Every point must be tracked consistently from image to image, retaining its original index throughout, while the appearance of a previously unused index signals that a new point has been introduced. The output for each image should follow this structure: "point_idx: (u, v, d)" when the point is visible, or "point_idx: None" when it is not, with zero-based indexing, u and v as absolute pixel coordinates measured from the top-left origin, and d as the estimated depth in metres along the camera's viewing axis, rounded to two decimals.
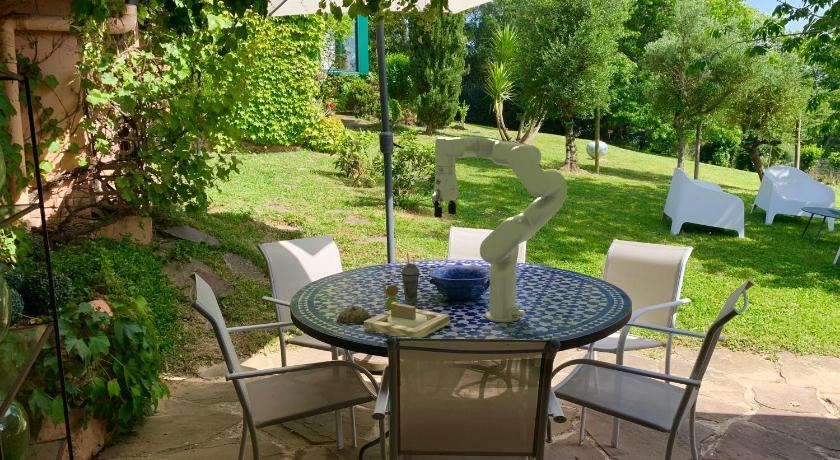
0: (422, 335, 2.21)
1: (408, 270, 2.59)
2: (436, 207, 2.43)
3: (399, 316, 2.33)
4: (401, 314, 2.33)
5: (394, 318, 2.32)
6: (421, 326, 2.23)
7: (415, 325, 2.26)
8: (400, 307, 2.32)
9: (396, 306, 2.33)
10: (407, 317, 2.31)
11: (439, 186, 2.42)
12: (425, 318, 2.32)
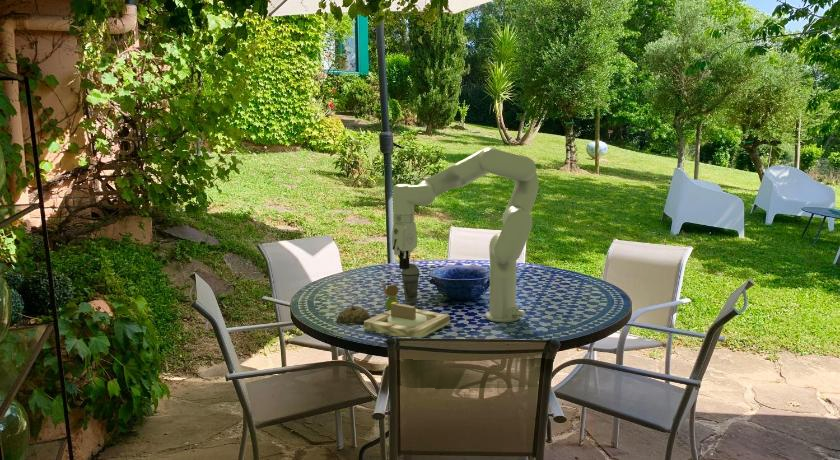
0: (422, 335, 2.21)
1: (408, 270, 2.59)
2: None
3: (399, 316, 2.33)
4: (401, 314, 2.33)
5: (394, 318, 2.32)
6: (421, 326, 2.23)
7: (415, 325, 2.26)
8: (400, 307, 2.32)
9: (396, 306, 2.33)
10: (407, 317, 2.31)
11: (397, 236, 2.31)
12: (425, 318, 2.32)
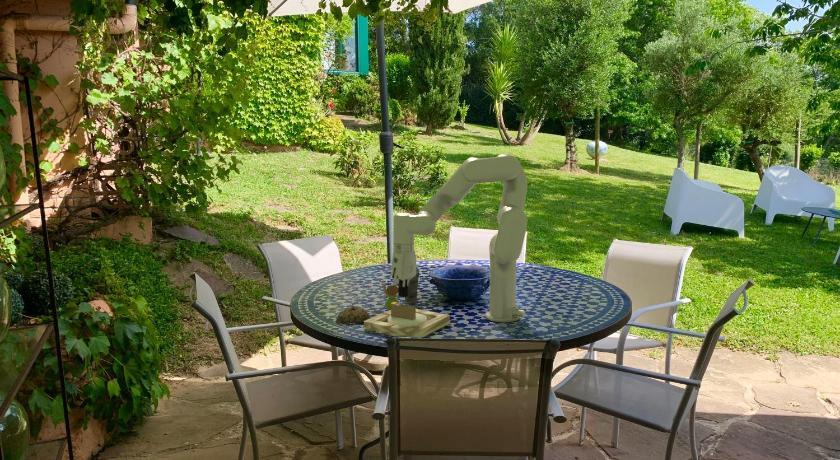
0: (422, 335, 2.21)
1: None
2: None
3: (399, 316, 2.33)
4: (401, 314, 2.33)
5: (394, 318, 2.32)
6: (421, 326, 2.23)
7: (415, 325, 2.26)
8: (400, 307, 2.32)
9: (396, 306, 2.33)
10: (407, 317, 2.31)
11: (396, 264, 2.33)
12: (425, 318, 2.32)
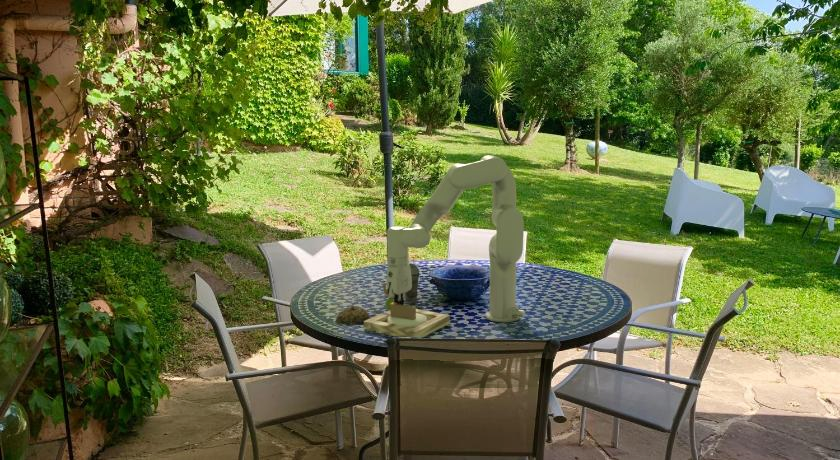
0: (422, 335, 2.21)
1: None
2: None
3: (399, 316, 2.33)
4: (401, 315, 2.32)
5: (394, 318, 2.32)
6: (421, 326, 2.23)
7: (416, 325, 2.27)
8: (400, 307, 2.32)
9: (396, 306, 2.33)
10: (407, 317, 2.31)
11: (391, 279, 2.31)
12: (425, 318, 2.33)
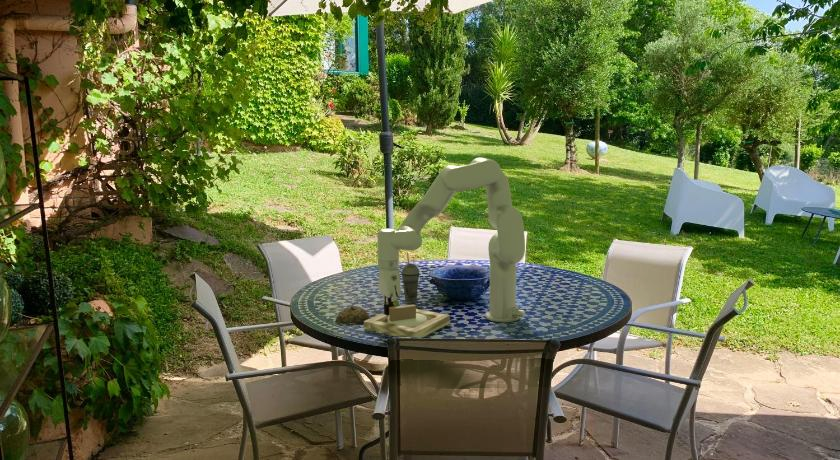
0: (422, 335, 2.21)
1: (408, 270, 2.59)
2: None
3: (401, 318, 2.30)
4: (403, 316, 2.31)
5: (400, 321, 2.28)
6: (421, 326, 2.23)
7: (426, 320, 2.32)
8: (402, 309, 2.30)
9: (397, 309, 2.29)
10: (410, 316, 2.32)
11: (395, 282, 2.26)
12: (417, 313, 2.38)
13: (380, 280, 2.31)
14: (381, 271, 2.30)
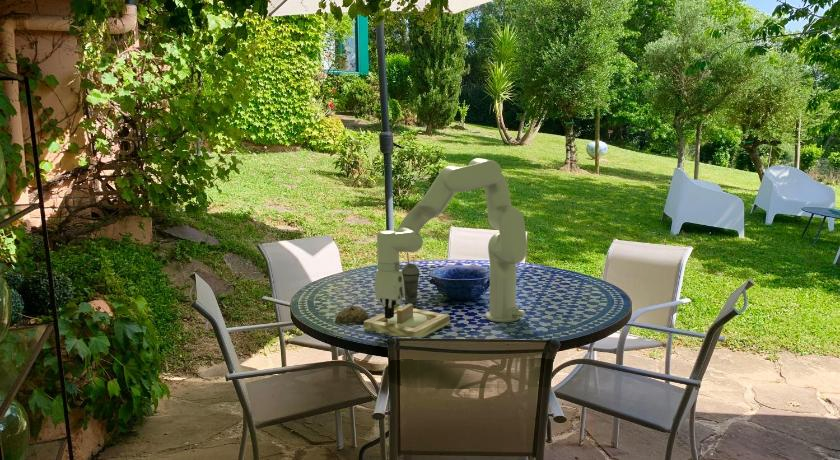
0: (422, 335, 2.21)
1: (408, 270, 2.59)
2: None
3: (406, 319, 2.30)
4: (407, 316, 2.30)
5: (409, 322, 2.28)
6: (421, 326, 2.23)
7: None
8: (406, 309, 2.29)
9: (404, 310, 2.28)
10: (410, 316, 2.33)
11: (401, 283, 2.25)
12: None
13: (380, 284, 2.26)
14: (382, 274, 2.25)
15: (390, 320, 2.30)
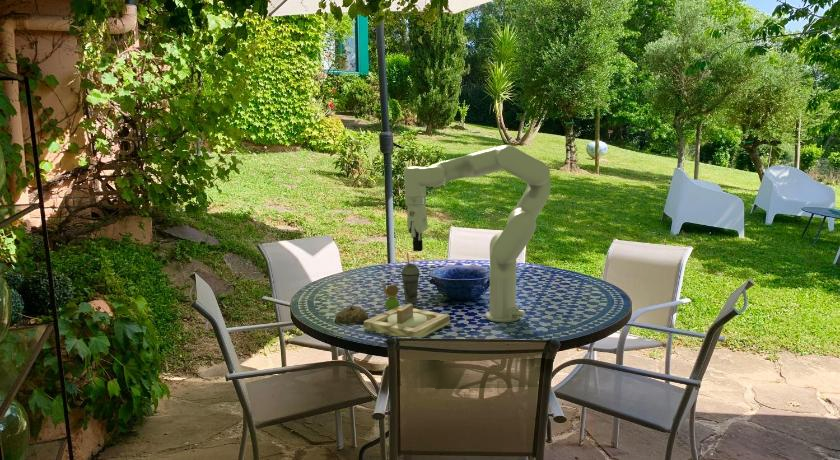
0: (422, 335, 2.21)
1: (408, 270, 2.59)
2: None
3: (406, 319, 2.30)
4: (407, 316, 2.30)
5: (409, 322, 2.28)
6: (421, 326, 2.23)
7: None
8: (406, 309, 2.29)
9: (404, 310, 2.28)
10: (410, 316, 2.33)
11: (413, 218, 2.32)
12: None
13: None
14: None
15: (390, 320, 2.30)
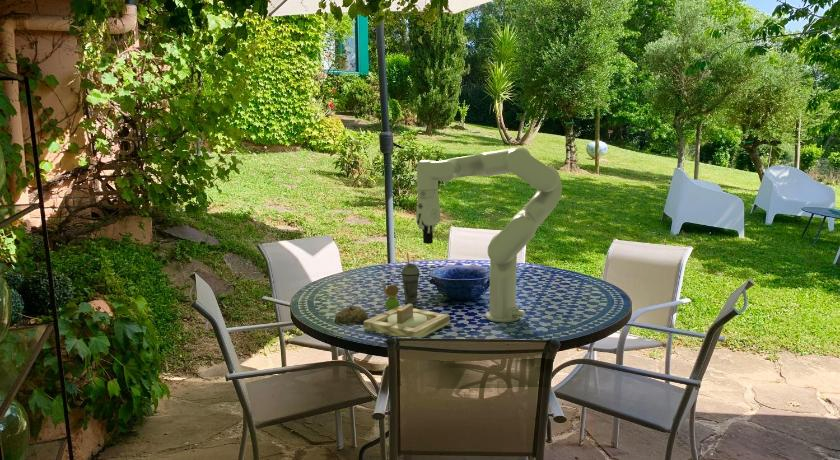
0: (422, 335, 2.21)
1: (408, 270, 2.59)
2: None
3: (406, 319, 2.30)
4: (407, 316, 2.30)
5: (409, 322, 2.28)
6: (421, 326, 2.23)
7: None
8: (406, 309, 2.29)
9: (404, 310, 2.28)
10: (410, 316, 2.33)
11: (421, 210, 2.37)
12: None
13: None
14: None
15: (390, 320, 2.30)
